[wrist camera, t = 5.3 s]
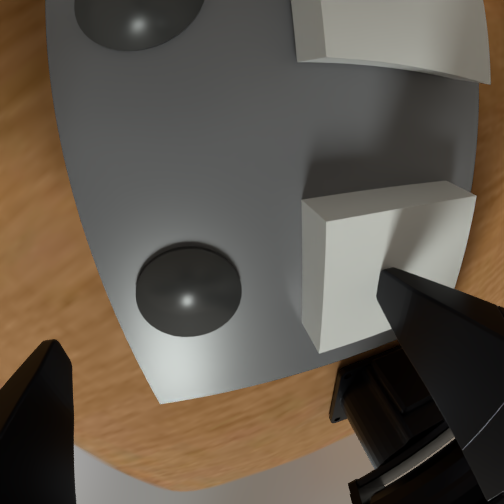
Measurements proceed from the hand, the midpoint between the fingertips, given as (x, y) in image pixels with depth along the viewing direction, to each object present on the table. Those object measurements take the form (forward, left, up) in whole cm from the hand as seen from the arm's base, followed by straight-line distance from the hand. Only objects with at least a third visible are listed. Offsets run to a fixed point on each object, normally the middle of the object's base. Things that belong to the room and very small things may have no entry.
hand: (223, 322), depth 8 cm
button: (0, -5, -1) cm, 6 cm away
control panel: (+8, -3, -4) cm, 10 cm away
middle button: (+8, -5, -1) cm, 10 cm away
